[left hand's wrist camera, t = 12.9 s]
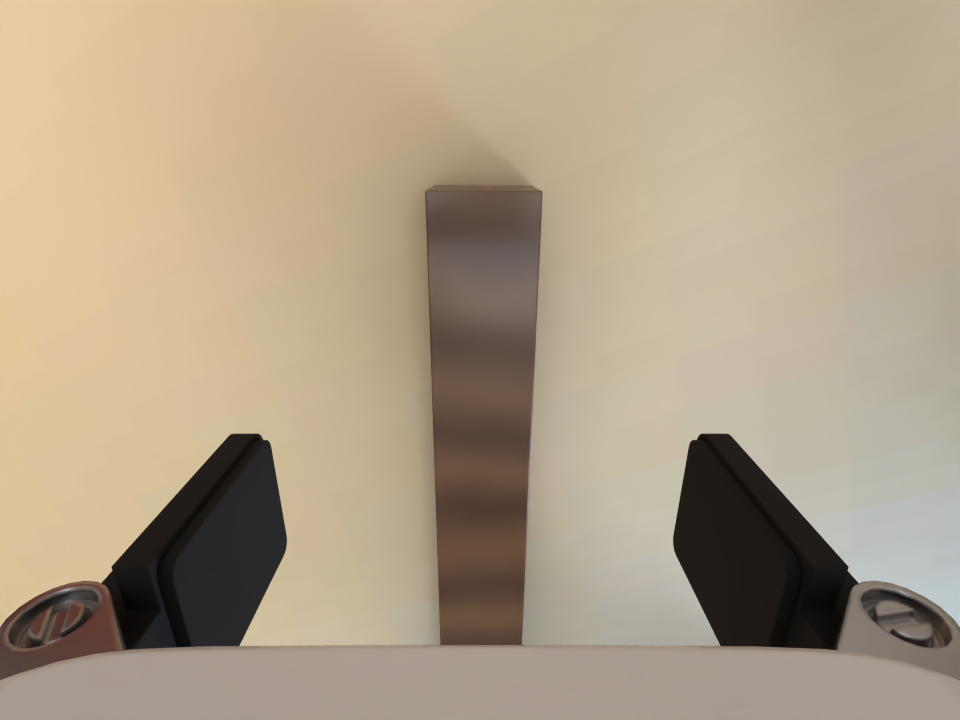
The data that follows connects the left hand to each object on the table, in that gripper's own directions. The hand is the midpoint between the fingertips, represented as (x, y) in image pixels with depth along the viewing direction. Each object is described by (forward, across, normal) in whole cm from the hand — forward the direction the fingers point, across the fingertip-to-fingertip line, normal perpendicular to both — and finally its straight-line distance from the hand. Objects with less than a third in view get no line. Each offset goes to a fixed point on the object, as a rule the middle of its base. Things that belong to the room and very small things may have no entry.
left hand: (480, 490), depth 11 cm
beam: (+27, 0, +24) cm, 36 cm away
